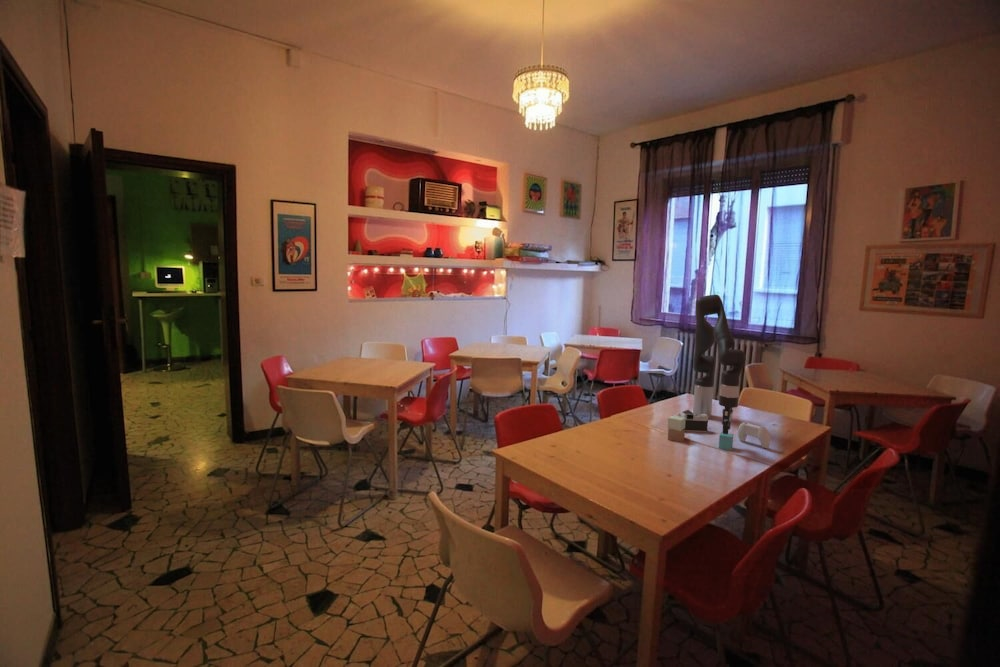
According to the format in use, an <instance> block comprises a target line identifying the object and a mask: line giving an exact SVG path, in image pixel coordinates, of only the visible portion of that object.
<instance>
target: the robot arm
mask: <svg viewBox="0 0 1000 667" xmlns="http://www.w3.org/2000/svg"><path fill="white" fill-rule="evenodd" d="M711 315H717V320H716V323H715V324H714V327H713V325H711V323H710V322H709V321H708V320H707V319H706V318H705V317H706V316H711ZM695 316H696V317H695V318H696V323H695V335H694V354H693V360H692V362H693V363H692V368H693V370H694V372H696V373H703V374H707V375H705V376H703V377H698V378H696V379H695V380H694V389H693V392H694V393H693V403H692V404H693V407H692V413H693V414H694V415H695V414H698V415H702V414H706V415H707V417H708V419H711V418H712V411H713V410H712V409H713V399H714V397H713V396H714V381H715V380H714V378H715V371H716V364H717V363H716V362H717V361H718V362H719V363H720V364H721V365H722V366H730V367H731V368H730V369H728V370H724V371H722V372H721V377H720V386H719V396H718V405H719V406H721V407H724V408H722V411H721V412H722V415H721V416H722V418H721V420H722V422H721V424H722V433H723V434H729V430H730V429H731V425H732V424H731V421H732V419H733V414H734V408H738V406H739V398H740V397H739V396H740V387H739V385H740V377H741V373H742V371H743V368H744V366H745V362H746V359H747V358H746V354H745V352H744V351H743V350H742V349H734V348H733V347H735V343H736V342H735V339H734V337H733V335H732V332H731V329H730V327H729V323H728V319H727V314H726V311H725V307H724V303H723V301H722V298H721V296H720V294H710V295H703V296H699V297H697V299H696V301H695ZM715 343H716V344H717V353H718V354H717V359H718V360H717V361H716V357H715V356H712V355H704V354H705V353H706V352H707V351H709V350H710V348H712V346H714V344H715Z"/></svg>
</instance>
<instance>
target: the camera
mask: <svg viewBox="0 0 1000 667" xmlns="http://www.w3.org/2000/svg"><path fill="white" fill-rule="evenodd" d="M674 416H680V417H685V418H686V420H685V432H697V433H698V432H701V433H702V432H703V433H704V432H705V433H706V432H708V425H709V424H708V423H709V418H708V417H707V415H706V414H702V415H698V414H695V415H694V414H693V411H691V410H690V409H685V410H684V411H681V412H680V413H679V412H677V413H676V414H674Z"/></svg>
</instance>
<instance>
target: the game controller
mask: <svg viewBox="0 0 1000 667" xmlns="http://www.w3.org/2000/svg"><path fill="white" fill-rule="evenodd" d="M747 436H751V437H755V438H757V439H758V440H759V443H760V446H761V447H762V449H765V448H766V449H769V448H770V446H771V436H770V433H769V431H768V429H767V427H765V426H762V425H755V424H752V423H749V422H746V421H743V422H741V423H740V424H739V426H738V429H737V438H738V440H739V441H740V442H742V443H743V442H746V439H747ZM766 449H765V450H766Z"/></svg>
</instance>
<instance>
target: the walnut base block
mask: <svg viewBox="0 0 1000 667" xmlns="http://www.w3.org/2000/svg"><path fill="white" fill-rule="evenodd" d="M667 430H668V432H667V440H669V441H674V442H675V441H676V442H682V443H684V442H685V432H686V431H685V428H684V429H683V430H682V431H678V430H673V429H668V428H667Z"/></svg>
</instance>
